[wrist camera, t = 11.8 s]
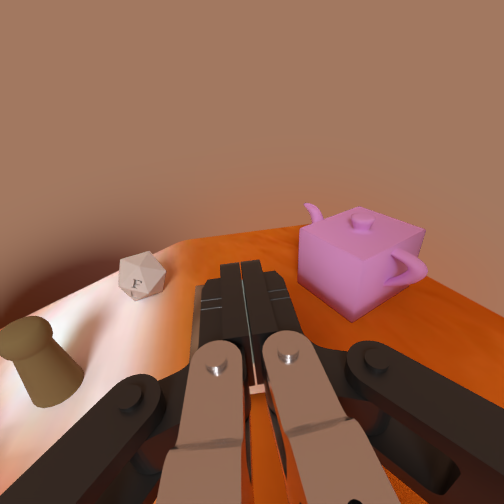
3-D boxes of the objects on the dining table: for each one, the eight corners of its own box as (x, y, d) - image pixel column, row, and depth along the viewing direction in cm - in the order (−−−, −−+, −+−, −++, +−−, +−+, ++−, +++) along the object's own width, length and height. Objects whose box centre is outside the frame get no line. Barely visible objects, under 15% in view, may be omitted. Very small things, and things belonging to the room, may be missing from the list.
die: (114, 299, 52) (103, 283, 44) (131, 259, 56) (124, 238, 48) (157, 309, 53) (155, 296, 45) (171, 269, 57) (171, 250, 49)
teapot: (326, 243, 64) (332, 185, 57) (436, 301, 46) (465, 226, 39) (275, 265, 58) (274, 203, 50) (379, 343, 39) (401, 263, 32)
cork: (20, 399, 35) (-31, 341, 29) (62, 360, 40) (25, 304, 34) (54, 414, 33) (7, 355, 27) (94, 371, 38) (60, 313, 32)
